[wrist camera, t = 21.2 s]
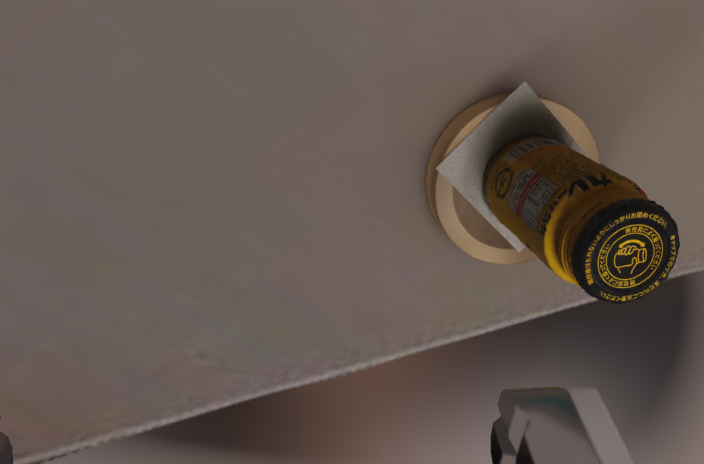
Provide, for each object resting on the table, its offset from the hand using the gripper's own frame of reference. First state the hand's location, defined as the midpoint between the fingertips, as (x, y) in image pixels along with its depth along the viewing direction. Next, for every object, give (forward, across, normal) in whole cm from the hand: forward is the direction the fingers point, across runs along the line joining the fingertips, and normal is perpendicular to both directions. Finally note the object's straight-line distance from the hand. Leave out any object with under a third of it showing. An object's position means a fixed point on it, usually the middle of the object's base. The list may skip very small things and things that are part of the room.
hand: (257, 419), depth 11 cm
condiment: (+28, -14, +11) cm, 34 cm away
